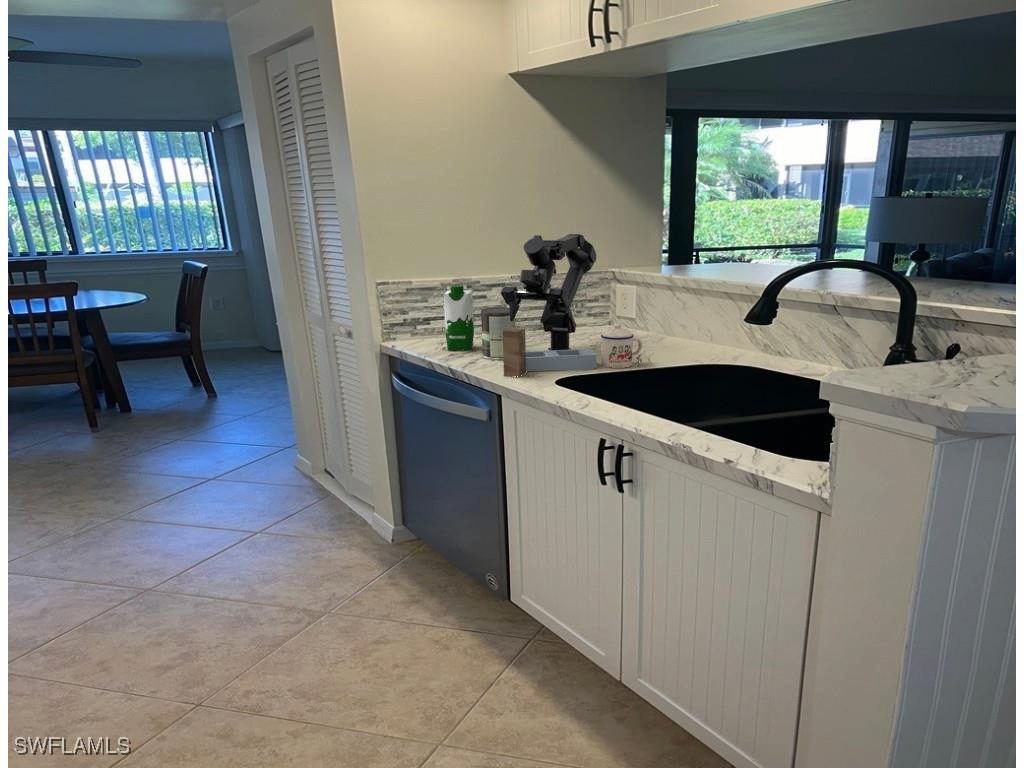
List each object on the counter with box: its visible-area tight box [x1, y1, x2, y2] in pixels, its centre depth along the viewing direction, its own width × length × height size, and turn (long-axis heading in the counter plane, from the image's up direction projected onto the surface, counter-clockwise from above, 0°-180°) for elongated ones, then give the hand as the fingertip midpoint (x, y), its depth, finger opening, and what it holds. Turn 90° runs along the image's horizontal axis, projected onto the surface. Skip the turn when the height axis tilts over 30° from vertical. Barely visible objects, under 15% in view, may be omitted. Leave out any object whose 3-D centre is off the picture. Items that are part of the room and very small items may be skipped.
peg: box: [503, 327, 527, 378], centre depth 206 cm, size 4×4×12 cm
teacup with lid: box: [600, 323, 643, 369], centre depth 215 cm, size 12×9×12 cm
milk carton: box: [443, 284, 475, 352], centre depth 240 cm, size 9×9×20 cm
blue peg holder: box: [526, 348, 598, 372], centre depth 214 cm, size 22×8×4 cm, turn 96°
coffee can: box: [480, 306, 516, 361], centre depth 228 cm, size 10×10×14 cm
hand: (526, 321), depth 211 cm, fingers open, 9 cm apart
